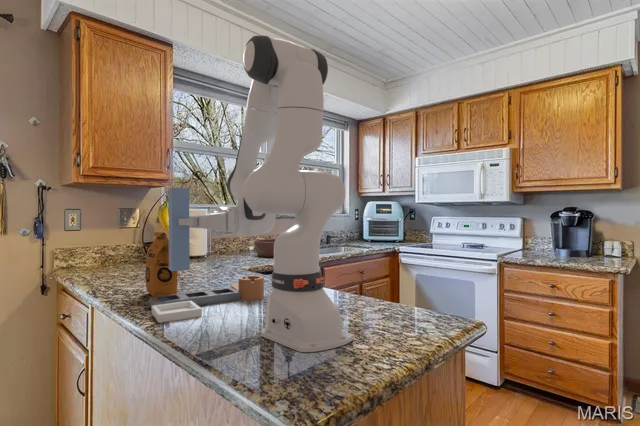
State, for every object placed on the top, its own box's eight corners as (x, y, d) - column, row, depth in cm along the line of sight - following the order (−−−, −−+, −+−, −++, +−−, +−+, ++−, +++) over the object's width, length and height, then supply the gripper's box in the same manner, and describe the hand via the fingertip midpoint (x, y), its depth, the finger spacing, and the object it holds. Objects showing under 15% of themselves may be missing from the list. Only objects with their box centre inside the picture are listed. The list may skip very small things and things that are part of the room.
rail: (240, 299, 119) (240, 292, 119) (154, 311, 105) (154, 303, 105) (230, 294, 127) (230, 287, 127) (149, 305, 112) (149, 297, 112)
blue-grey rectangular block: (189, 269, 102) (189, 188, 102) (172, 271, 100) (171, 187, 100) (185, 268, 106) (185, 189, 106) (168, 269, 103) (168, 188, 104)
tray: (201, 316, 100) (201, 308, 100) (158, 322, 94) (158, 314, 94) (191, 307, 109) (191, 300, 109) (151, 313, 103) (151, 305, 103)
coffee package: (148, 300, 119) (148, 232, 119) (143, 293, 129) (143, 231, 129) (180, 296, 124) (180, 232, 124) (173, 289, 135) (173, 230, 135)
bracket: (267, 299, 121) (267, 278, 121) (242, 302, 117) (242, 280, 117) (251, 289, 136) (251, 270, 136) (229, 291, 133) (229, 272, 133)
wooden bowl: (279, 253, 259) (279, 238, 259) (299, 256, 239) (299, 240, 239) (247, 255, 244) (247, 240, 244) (266, 259, 224) (266, 242, 224)
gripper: (213, 211, 119) (168, 211, 111) (235, 210, 102) (184, 209, 94) (213, 231, 119) (168, 232, 111) (235, 232, 102) (184, 234, 94)
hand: (175, 222), depth 102 cm, fingers closed on blue-grey rectangular block, 5 cm apart
